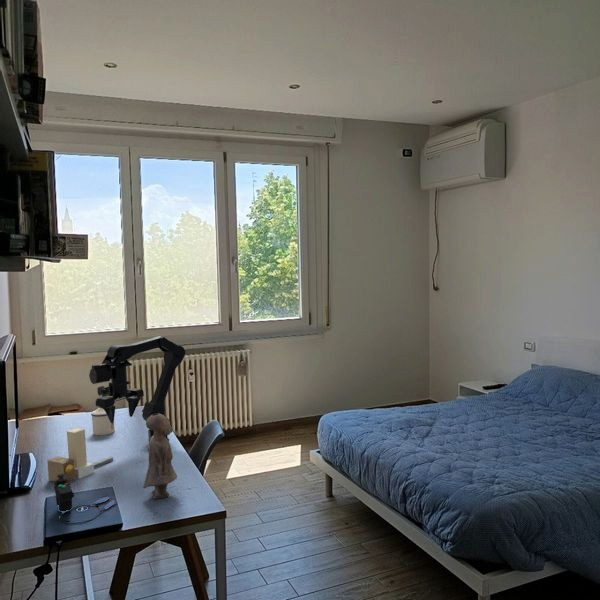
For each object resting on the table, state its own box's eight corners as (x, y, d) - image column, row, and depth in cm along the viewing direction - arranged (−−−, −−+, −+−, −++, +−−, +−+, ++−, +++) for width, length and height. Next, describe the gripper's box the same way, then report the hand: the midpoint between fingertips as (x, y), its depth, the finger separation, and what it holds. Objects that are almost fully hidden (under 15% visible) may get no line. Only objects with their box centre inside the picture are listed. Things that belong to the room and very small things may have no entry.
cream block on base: (78, 468, 193) (75, 426, 192) (93, 472, 189) (91, 429, 188) (63, 474, 188) (60, 431, 187) (79, 478, 184) (76, 434, 183)
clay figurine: (182, 499, 164) (178, 416, 162) (148, 507, 160) (143, 422, 158) (172, 484, 176) (168, 407, 174) (140, 491, 171) (135, 412, 170)
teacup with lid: (117, 433, 233) (115, 406, 232) (94, 437, 229) (92, 409, 228) (111, 426, 243) (109, 400, 243) (89, 430, 239) (87, 403, 238)
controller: (69, 502, 165) (67, 470, 164) (77, 518, 154) (74, 483, 154) (53, 506, 163) (51, 473, 162) (60, 522, 152) (57, 487, 152)
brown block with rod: (103, 458, 202) (102, 439, 202) (120, 462, 198) (118, 442, 198) (48, 480, 183) (47, 460, 182) (65, 485, 179) (64, 464, 178)
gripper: (123, 372, 220) (125, 411, 221) (84, 382, 204) (86, 424, 205) (143, 374, 215) (145, 414, 216) (104, 384, 199) (107, 427, 200)
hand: (121, 419), depth 209 cm, fingers open, 9 cm apart
